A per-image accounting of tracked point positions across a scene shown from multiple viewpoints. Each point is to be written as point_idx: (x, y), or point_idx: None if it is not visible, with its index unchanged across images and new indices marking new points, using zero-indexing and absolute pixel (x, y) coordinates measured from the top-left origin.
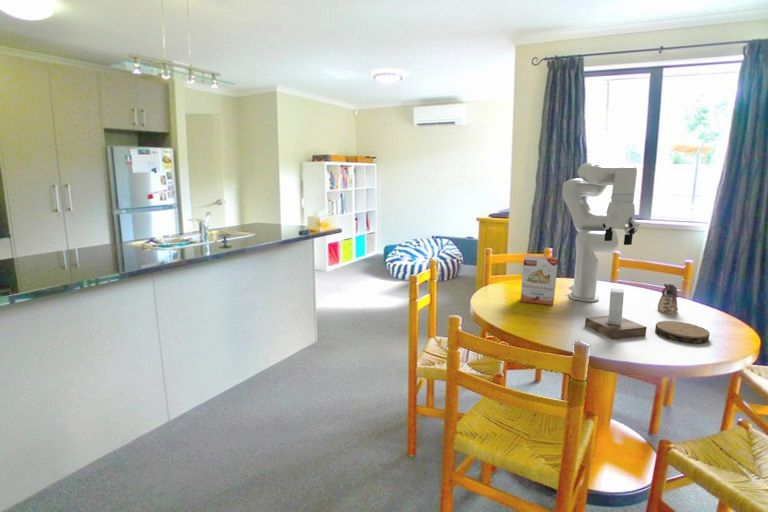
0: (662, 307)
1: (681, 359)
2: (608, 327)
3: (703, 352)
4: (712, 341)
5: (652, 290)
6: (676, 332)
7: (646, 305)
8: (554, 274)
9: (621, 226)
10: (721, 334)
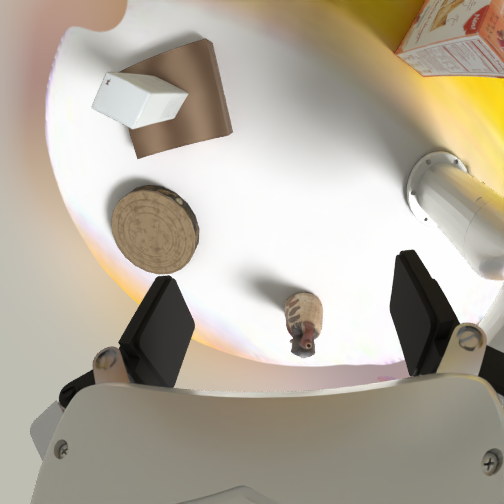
0: (299, 300)
1: (61, 155)
2: (132, 67)
3: (89, 208)
4: None
5: None
6: (125, 207)
7: (349, 294)
8: (442, 35)
9: (91, 406)
10: None
